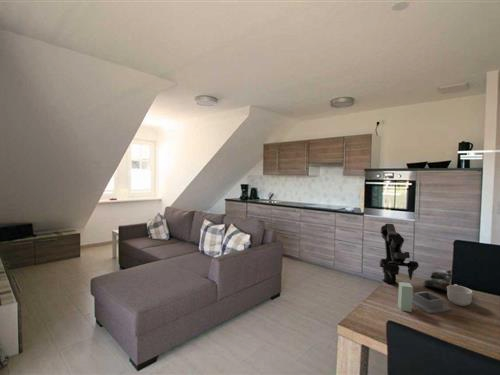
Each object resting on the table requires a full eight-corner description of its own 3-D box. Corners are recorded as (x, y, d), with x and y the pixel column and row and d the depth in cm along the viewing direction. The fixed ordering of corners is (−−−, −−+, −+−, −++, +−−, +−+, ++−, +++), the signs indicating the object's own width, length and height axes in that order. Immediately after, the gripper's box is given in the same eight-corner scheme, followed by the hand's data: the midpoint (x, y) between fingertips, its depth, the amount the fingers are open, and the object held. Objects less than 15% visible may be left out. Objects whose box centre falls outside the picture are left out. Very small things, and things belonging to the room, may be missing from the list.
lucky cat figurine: (418, 284, 166) (424, 263, 169) (436, 292, 165) (442, 271, 168) (435, 287, 151) (441, 264, 154) (455, 296, 151) (461, 273, 154)
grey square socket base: (406, 300, 145) (406, 291, 145) (426, 297, 149) (426, 288, 148) (429, 313, 132) (429, 304, 132) (450, 310, 135) (451, 301, 135)
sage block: (397, 305, 140) (398, 281, 139) (408, 306, 138) (409, 283, 138) (400, 310, 135) (402, 286, 134) (411, 311, 134) (412, 287, 133)
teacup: (472, 310, 136) (473, 295, 135) (445, 303, 142) (446, 289, 141) (470, 299, 147) (471, 286, 146) (446, 294, 153) (447, 280, 153)
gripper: (381, 244, 149) (385, 270, 139) (418, 247, 145) (425, 274, 135) (377, 253, 157) (381, 279, 147) (412, 256, 153) (418, 283, 143)
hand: (401, 278), depth 143 cm, fingers open, 9 cm apart
